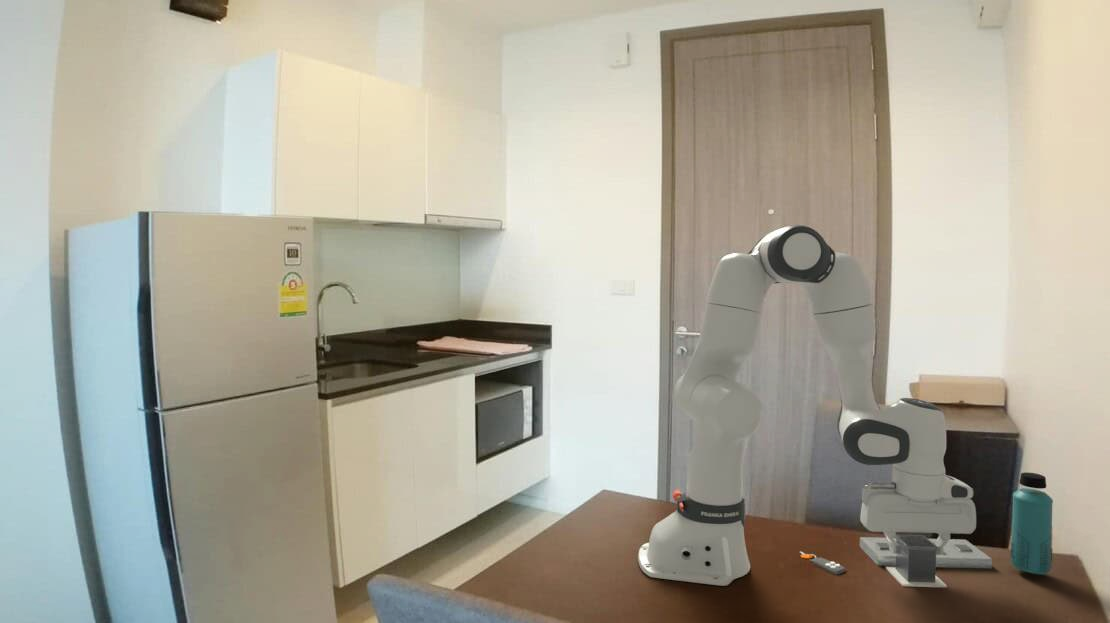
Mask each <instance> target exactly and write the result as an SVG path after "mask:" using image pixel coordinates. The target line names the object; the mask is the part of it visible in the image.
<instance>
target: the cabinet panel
mask: <svg viewBox="0 0 1110 623" xmlns="http://www.w3.org/2000/svg"><path fill="white" fill-rule="evenodd" d="M893 539H894V541H895V542H896V538H895V537H893ZM927 539H928V540H930V541H931V542H932V543H935V542H936V540H937V538H927ZM859 547H860V549H861V550H863V552H864V553H865V554H866V555H867V556H868V557H869V558H870V559H871V560H872V561H873V563H875V564H876V565H877V566H879V567H882V566H884V567H896V554H893V553H892V552H890V550H889V541H888V539H887V538H886V537H870V536H869V537H868V536H866V537H862V536H860V537H859ZM992 561H993V559H992V557H990V556H988V555H987V554H986V553H984V552H983V551H982V550H981V549H979V548H977V547H976V545H973V543H971V542H969V540H967V539H962V538H961V539H959V538H957V539H955V538H952V539H951V538H950V539H949V541H948V542H947V543H946V545H945V546H944V547H943V555H936V568H951V569H952V568H955V569H956V568H959V569H961V568H962V569H992Z"/></svg>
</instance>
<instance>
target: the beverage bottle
mask: <svg viewBox="0 0 1110 623" xmlns="http://www.w3.org/2000/svg"><path fill="white" fill-rule="evenodd" d="M1046 480H1047V479H1046V476H1044V475H1042V474H1039V473H1036V472H1035V473H1034V472H1029V471H1028V472H1021V473H1020V478H1019V484H1020V485H1021V486H1024V487H1025V488H1023V487H1022V488H1020V489H1017V490H1016V491H1014V492H1013V493H1012V514H1011V520H1012V521H1011V533H1010V536H1011V541H1010V556H1009V557H1010V561H1011V564H1012V566H1014V567H1015V568H1016V569H1018V570H1020V571H1022V572H1027V573H1029V574H1035V575H1046V574H1047V575H1048V574H1049V573H1050V572H1051V570H1052V568H1053V566H1052V563H1053V541H1054V540H1053V536H1054V535H1053V533H1054V532H1053V529H1054V528H1053V504H1054V500H1053V498H1052V497H1051V496H1050V495H1049V494H1048V493H1046V492H1045V491H1042V490H1043V489H1047V481H1046ZM1038 489H1039V490H1038ZM1041 489H1042V490H1041Z"/></svg>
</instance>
